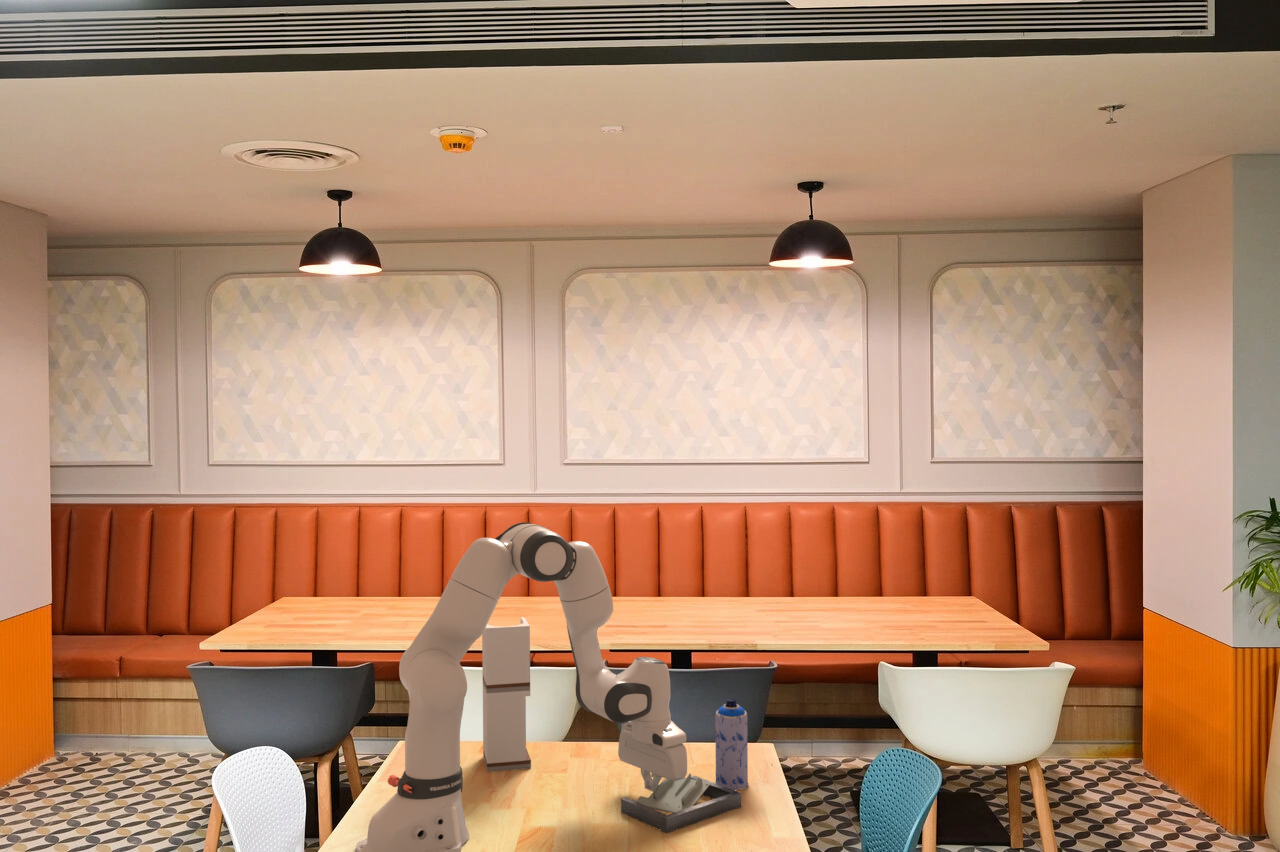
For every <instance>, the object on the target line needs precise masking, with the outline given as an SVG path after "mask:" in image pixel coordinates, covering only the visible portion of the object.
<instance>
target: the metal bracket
mask: <svg viewBox="0 0 1280 852" xmlns="http://www.w3.org/2000/svg"><path fill="white" fill-rule="evenodd" d="M691 777H692V774H691V773H689V774H687V775H686V777H685V778H684V779H682V780H679V781H675V782H674V781H671V780H668V779H666V778H664V779H663V780H661V781H662V782H661V781H660V782H659V786H658V787H657V788H656V789H655V790H654V792H652V793H651V794H650V795H649V796H648V797H647V796H642V795H640V796H639V797H638V798H637V799H636V800H635V801H636V802H639V803H641V804H643V805H646V806H648V807H650V808H652V809H655V810H656V809H657V811H661V810H662V812H665V811H666V812H667V813H669V812H672V813H675V812H677V811H680V810H683V809H686V808H689V807H692V806H695V805H696V803H697V802H698V801H699V799H700V798H701V796H703V795H702V794H703V793H704V792H705V791H706V789H707V788H708V787H709V785H710V783H708V782H703V781H702V779H701V778H702V777H700V778H698V779H697V780H694V779H691ZM698 780H699V781H698ZM700 780H701V781H700ZM706 785H707V786H706ZM672 813H671V814H672Z"/></svg>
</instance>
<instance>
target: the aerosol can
mask: <svg viewBox="0 0 1280 852" xmlns="http://www.w3.org/2000/svg"><path fill="white" fill-rule="evenodd" d="M714 717H715V719H714V720H715V723H714V724H715V782H714V783H716V784H718V785H721V786H724V787H726V788H729V789H731V790H734V791H735V790H740V791H743V790H742V789H744V790H745V788H746V789H748V788H749V786H748V785H750V784H749V782H748V780H749V779H748V778H749V775H748V773H749V772H748V770H749V769H748V768H749V767H748V765H749V764H748V761H749V760H748V750H749V749H748V712H747V711H746V710H745V709H744V708H743V707H742V706H740V705H739V704H738V703H737V699H735V698H727V699H726V703H725V704H723V705H722V706H720V707H719V708H718V709H717V710H716V711H715V716H714Z"/></svg>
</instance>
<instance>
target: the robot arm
mask: <svg viewBox="0 0 1280 852" xmlns="http://www.w3.org/2000/svg"><path fill="white" fill-rule="evenodd" d="M453 570H454V571H453V572H452V574H451V576H450V578H449V580H448V581H447V584H446V586H445V588H444V590H443V592H442V594H441V596H440V598H439V600H438V602H437V604H436V606H435V607H434V610H433V612H432V613H431V615H430V617H429V618H428V619H427V621H426V622H425V624H424V625H423V626H422V628H421V630H419V632H418V634H417V635H416V636H415V638H414V640H413V641H412V642H411V644H410V646H408V648H406V650H405V651H404V652H403V654H402V655H401V657H400V659H399V667H398V669H399V670H398V671H399V672H398V674H399V679H400V682H401V684H402V685H403V688H405V690H406V691H407V693H408V698H409V709H408V719H407V726H406V730H405V733H404V748H405V749H404V757H405V758H404V763H405V764H404V766H405V768H404V771H403V772H402V773H403V774H402V775H401V777H398V776H396V775H395V774H391V775H389V776H388V777H389V778H388V777H387V784H388V785H389V786H391V787H393V788H397V789H396V791H397V792H395V794H394V795H393V796H391V798H390V799H389V800H388V801H387V802H386V803H385V804H384V805H382V807H381V808H380V809H378V811H376V813H374V814H373V815H372V817H371V819H370V820H369V825H368V829H367V835H366V836H367V838H364V839H362V840H359V841H358V842H356V847H355V852H461V851H462V847H463V846H464V844H465V843H466V842H467V841H468V840H469V837H470V834H469V831H468V826H467V824H466V819H465V814H464V809H463V808H464V807H463V800H462V797H463V796H462V793H463V786H464V782H463V768H462V766H461V724H462V718H463V711H464V706H465V705H464V704H465V697H466V695H467V692H468V681H467V676H466V673H465V670H464V668H463V666H462V664H461V661H462V659H463V658H464V656H465V655H466V653H468V651H469V650H470V649H471V647H472V646H473V644H474V643H475V642H476V641H477V640H478V639H480V637H481V636H482V634H483V632H484V630H485V628H486V625H487V623H488V624H489V622H490V619H491V617H492V615H493V613H494V611H495V610H496V609H495V608H496V607H497V604H498V603H499V600H500V599H501V595H502V594H503V591H504V589H505V587H506V586H507V584H508V583H509V582H510V580H512V579H513V578H514V577H515V576H517V575H521V576H523V577H525V578H528V579H532V580H534V581H536V582H540V583H541V582H542V583H547V582H548V583H549V582H554V585H555V586H556V590H557V593H558V596H559V600H560V603H561V607H562V610H563V613H564V616H565V621H566V629H567V634H568V639H569V643H570V649H571V652H572V658H573V661H574V665H575V672H576V675H575V676H576V679H575V697H576V701H577V703H578V704H579V705H580V707H581V708H582V709H584V710H585V711H587V712H590V713H593V714H596V715H598V716H600V717H602V718H604V719H607V720H609V721H610V722H613V723H617V724H621V728H620V729H621V732H620V733H619V738H618V748H617V749H618V752H617V755H618V757H619V760H620V761H621V762H623V763H626V764H627V765H632V766H633V767H636V768H639V769H640V774H641V777H642V780H643V782H644V789H645V790H648V791H651V792H652V793H653V792H654V790H655V789H656V788H657V787H658V786H659V785H660V783H661V781H662V778H664V779H665V778H666V779H668V780H671V781H674V782H675V781H679V780H682V779H684V778H686V777H687V775H688V774H687V773H688V754H687V749H686V746H685V744H684V743H686V742H687V733H686V732H684V731H683V730H682V729H681V728H680V727H678V726H677V724H676V723H674V721H672V720H671V717H672V716H671V711H670V700H671V678H670V677H671V676H670V671H669V666H668V665H667V663H665V661H663V660H660V659H658V658H655V657H650V656H649V657H648V656H639V657H635V658H634V659H633V662H632V663H631V665H629V666H628V667H627V668H626V669H624V670H623V671H621V672H620V673H617V674H616V673H613V672H612V671H611V670H610V669H609V668H608V667H607V666H606V664H605V663H604V660H603V657H602V652H601V648H600V643H599V638H598V629H599V628H601V627H602V626H604V625H606V623H607V622H608V621H609V620H610V618H611V616H612V614H613V612H614V601H613V596H612V591H611V588H610V584H609V582H608V578H607V575H606V573H605V570H604V567H603V565H602V563H601V561H600V559H599V556H598V554H597V553H596V550H595V549H594V547H593V546H592V545H591V544H589V543H588V542H585V541H581V540H575V541H574V540H573V541H569V542H568V541H567V540H566V539H565V538H563V536H562V535H560V534H558V533H557V532H555V531H551V530H550V529H549V528H548V527H545V526H543V525H540V524H535V523H531V522H526V521H525V522H519V523H515V524H513V525H510V527H507V528H506V529H505V531H503V532H502V533H500V534H499V535H498V536H496V537H495V538H493V537H480V538H478V539H475V540H474V541H473V542H472V543H471V545H469V547H468V548H467V550H466V551H465V553H464V554H463V555H462V557H461V558H460V560H459V562H458V563H457V565H456V566H455V568H454V569H453Z"/></svg>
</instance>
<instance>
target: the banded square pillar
mask: <svg viewBox="0 0 1280 852" xmlns="http://www.w3.org/2000/svg"><path fill="white" fill-rule="evenodd" d="M530 628H531V626H530V623H528V621H527V619H526V618H525V616H521V617H520V623H519V624H517V625H509V626H507V625H506V626H497V625H491V624H489V622H488V623H487V625H486V628H485V630H484V632H483V634H482V635H481V636H482V638H481V641H482V643H481V644H482V645H481V646H482V647H481V649H482V650H481V651H482V652H481V653H482V657H481V658H482V659H481V661H482V663H481V664H482V741H483V744H482V746H483V748H482V752H483V753H482V754H483V755H482V757H484V758H483V762H484V764H485V768H486V772H487V773H491V772H490V771H494V772H503V771H504V772H505V771H515V770H514V769H517V770H526V769H529V770H530V769H531V768H532V760H531V757H530V755H529V752H528V749H527V718H526V717H527V715H526V714H527V711H526V709H527V707H526V706H527V705H526V701H527V700H526V697H531V635H530V634H531V631H530Z"/></svg>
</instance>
